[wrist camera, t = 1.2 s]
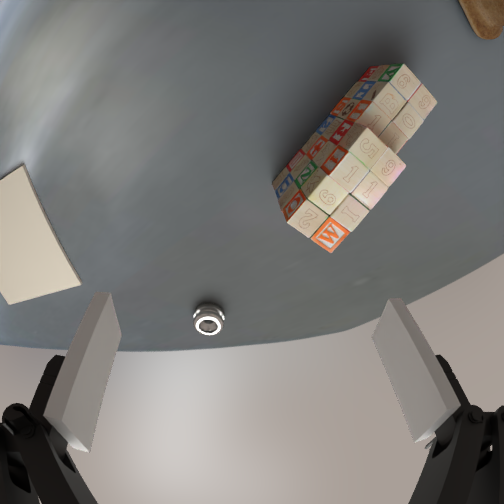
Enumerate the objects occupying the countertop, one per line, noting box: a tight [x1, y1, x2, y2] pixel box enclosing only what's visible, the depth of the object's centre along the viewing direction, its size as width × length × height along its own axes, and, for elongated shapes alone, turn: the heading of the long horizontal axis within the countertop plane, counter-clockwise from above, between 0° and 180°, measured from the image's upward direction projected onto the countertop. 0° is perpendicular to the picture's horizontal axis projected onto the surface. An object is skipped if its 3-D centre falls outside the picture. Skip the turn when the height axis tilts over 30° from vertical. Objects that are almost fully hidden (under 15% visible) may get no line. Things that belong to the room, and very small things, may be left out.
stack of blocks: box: [272, 64, 437, 253], centre depth 32 cm, size 21×6×12 cm, turn 144°
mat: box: [0, 165, 82, 305], centre depth 41 cm, size 22×22×1 cm
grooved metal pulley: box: [193, 303, 224, 335], centre depth 49 cm, size 5×3×5 cm
